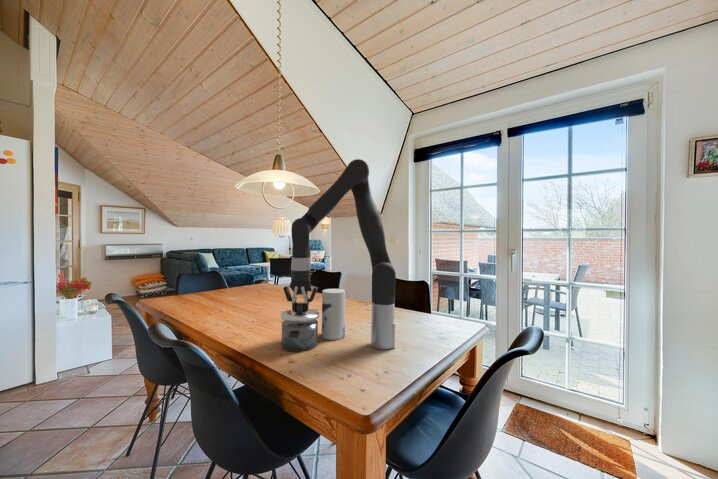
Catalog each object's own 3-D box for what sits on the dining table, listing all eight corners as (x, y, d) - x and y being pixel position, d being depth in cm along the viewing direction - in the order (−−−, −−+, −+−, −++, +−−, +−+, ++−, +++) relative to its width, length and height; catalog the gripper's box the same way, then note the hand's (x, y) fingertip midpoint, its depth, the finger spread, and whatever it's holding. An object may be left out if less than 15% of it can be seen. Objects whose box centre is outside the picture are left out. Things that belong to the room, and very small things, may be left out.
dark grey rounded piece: (289, 335, 122) (290, 314, 122) (321, 336, 121) (321, 315, 121) (273, 355, 101) (273, 330, 101) (311, 356, 100) (312, 331, 100)
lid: (321, 311, 119) (321, 299, 119) (316, 322, 104) (316, 308, 104) (285, 311, 118) (286, 299, 118) (275, 321, 103) (276, 307, 103)
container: (316, 336, 121) (317, 290, 121) (334, 330, 129) (334, 287, 129) (332, 342, 115) (333, 293, 114) (349, 336, 122) (350, 290, 122)
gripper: (320, 268, 114) (319, 310, 115) (286, 267, 115) (285, 309, 115) (316, 270, 107) (316, 315, 107) (280, 269, 107) (279, 314, 107)
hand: (300, 311), depth 111 cm, fingers closed on lid, 3 cm apart
